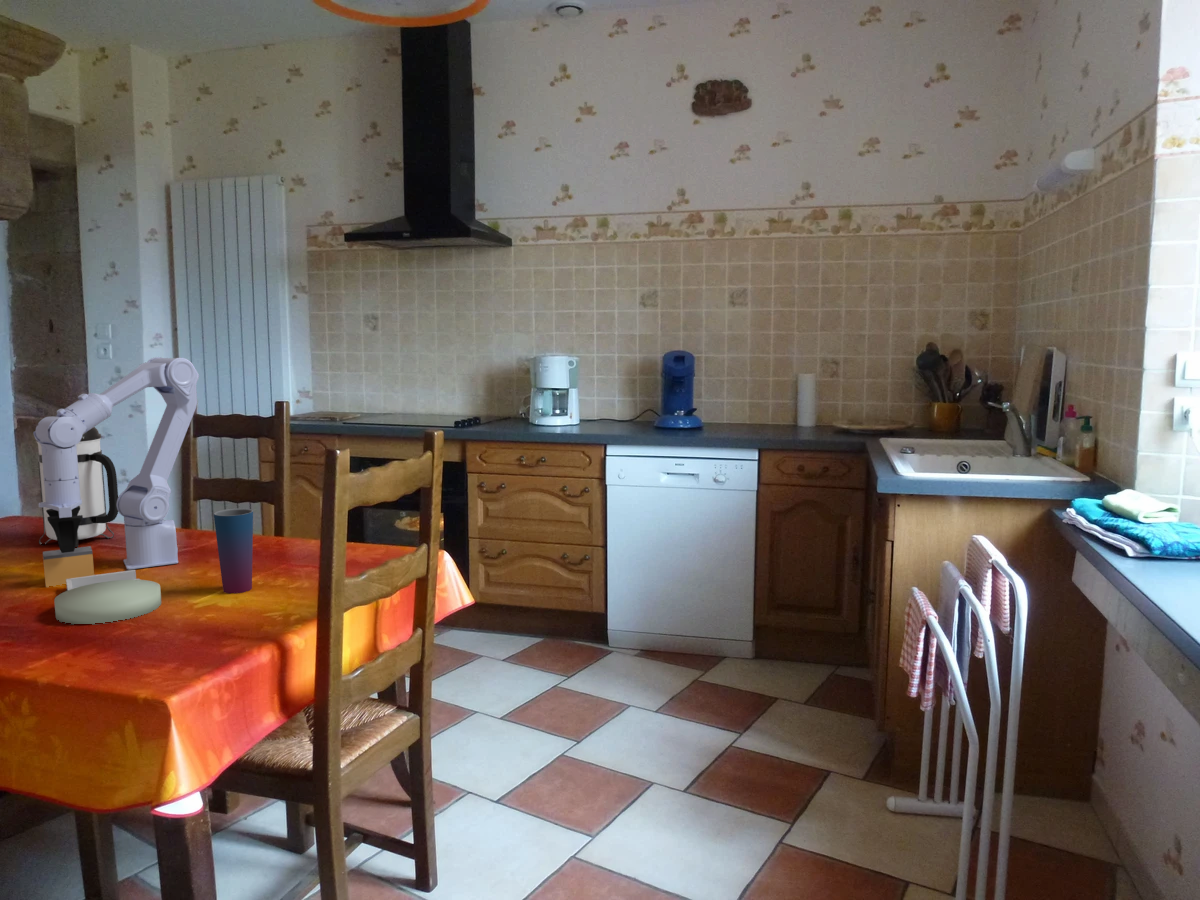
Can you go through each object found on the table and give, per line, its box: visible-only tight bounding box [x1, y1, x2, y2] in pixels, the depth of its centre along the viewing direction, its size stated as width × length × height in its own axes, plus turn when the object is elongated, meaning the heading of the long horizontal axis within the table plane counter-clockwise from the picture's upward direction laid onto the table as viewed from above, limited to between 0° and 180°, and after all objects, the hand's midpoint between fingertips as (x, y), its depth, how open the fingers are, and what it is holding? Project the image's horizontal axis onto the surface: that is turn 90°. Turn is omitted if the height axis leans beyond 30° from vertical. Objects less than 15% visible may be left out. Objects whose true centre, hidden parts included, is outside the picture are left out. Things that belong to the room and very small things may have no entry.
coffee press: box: [35, 426, 119, 548], centre depth 193 cm, size 17×16×30 cm
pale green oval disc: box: [54, 569, 162, 625], centre depth 151 cm, size 16×26×3 cm, turn 34°
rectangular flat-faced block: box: [42, 545, 95, 588], centre depth 163 cm, size 8×4×6 cm, turn 124°
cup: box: [213, 507, 254, 594], centre depth 158 cm, size 7×7×15 cm
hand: (66, 547), depth 163 cm, fingers open, 7 cm apart
